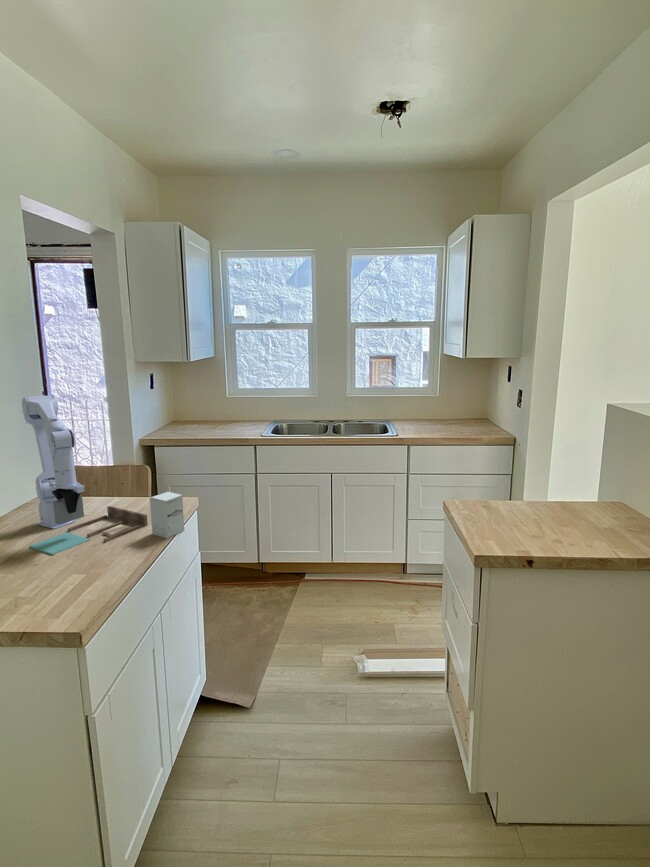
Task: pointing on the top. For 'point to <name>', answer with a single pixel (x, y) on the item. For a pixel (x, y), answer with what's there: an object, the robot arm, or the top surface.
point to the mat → (59, 543)
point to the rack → (117, 514)
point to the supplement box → (167, 514)
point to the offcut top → (115, 530)
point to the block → (62, 512)
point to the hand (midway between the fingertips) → (69, 511)
